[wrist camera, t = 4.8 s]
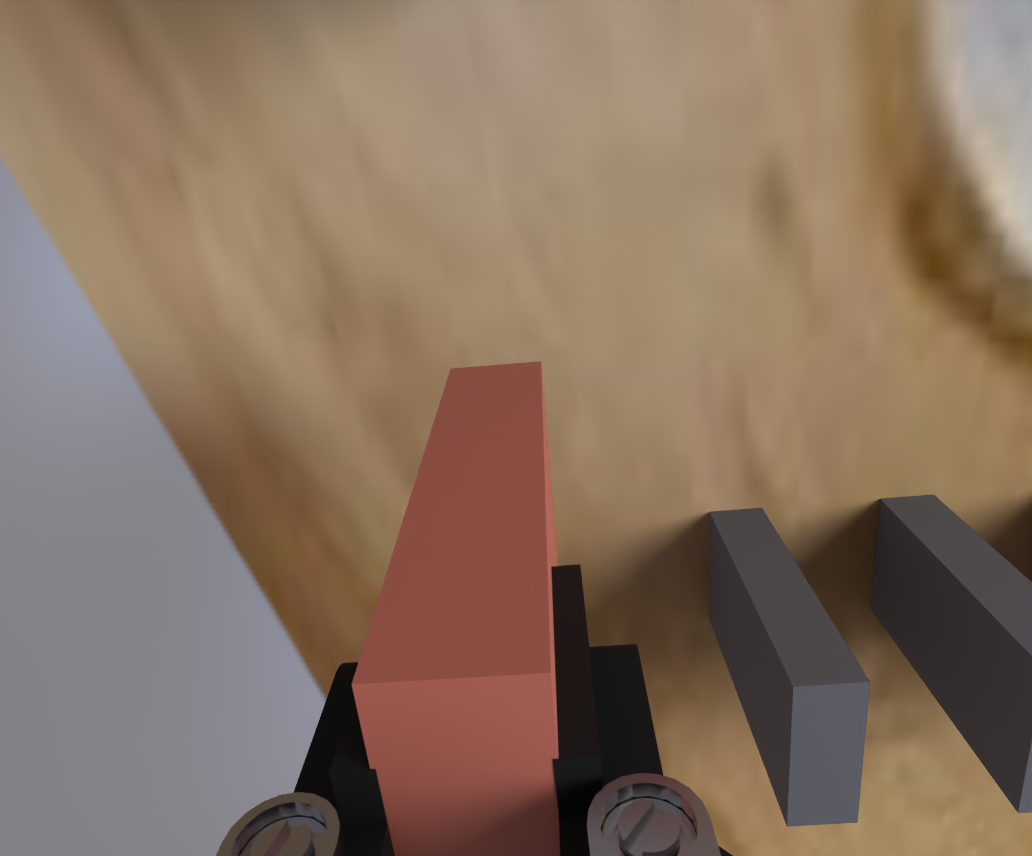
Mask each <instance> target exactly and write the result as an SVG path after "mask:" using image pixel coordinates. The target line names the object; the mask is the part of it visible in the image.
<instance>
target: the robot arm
mask: <svg viewBox="0 0 1032 856" xmlns="http://www.w3.org/2000/svg"><path fill="white" fill-rule="evenodd" d="M551 573H552V599H553V625H554V651H555V677H556V703H557V729H558V755H559V759H553V765H554V775H555V785H556V795H557V805H558V815H559V840H560V856H733V855H731V854H730V853H728V852H727V851H725V850H724V849H722V848H721V847H719V846H718V843H717V840H716V836H715V833H714V829H713V826H712V823H711V819H710V816H709V814H708V812H707V810H706V808H705V806H704V804H703V802H702V800H701V799H700V798H699V797H698V796H697V795H696V794H695V793H694V792H693V791H692V790H691V789H690V788H689V787H687V786H685V785H684V784H682V783H680V782H678V781H677V780H675V779H673V778H669V777H666V776H663V772H662V767H661V762H660V757H659V752H658V747H657V742H656V737H655V732H654V727H653V722H652V717H651V712H650V707H649V702H648V697H647V692H646V687H645V682H644V677H643V672H642V667H641V662H640V657H639V652H638V648H637V645H636V644H630V645H614V646H599V647H589V642H588V632H587V623H586V614H585V605H584V595H583V586H582V577H581V568H580V564H579V565H565V566H551ZM358 663H359V662H353V663H343V664H341V665H340V666H339V668H338V670H337V672H336V674H335V677H334V680H333V683H332V686H331V689H330V691H329V694H328V697H327V700H326V703H325V705H324V708H323V711H322V714H321V717H320V720H319V722H318V725H317V728H316V731H315V734H314V736H313V739H312V742H311V745H310V748H309V751H308V753H307V756H306V759H305V762H304V765H303V768H302V770H301V773H300V776H299V779H298V782H297V784H296V787H295V790H294V793H289V794H283V795H279V796H276V797H274V798H271V799H269V800H266V801H264V802H262V803H260V804H259V805H257V806H256V807H254V808H253V809H251V810H249V811H248V812H246V813H245V814H244V815H243V816H242V817H241V818H240V819H239V820H238V821H237V822H236V823H235V824H234V825H233V826H232V827H231V829H230V830H229V832H228V834H227V835H226V837H225V838H224V840H223V842H222V843H221V846H220V848H219V850H218V852H217V854H216V856H395V854H394V849H393V845H392V840H391V836H390V831H389V827H388V822H387V818H386V813H385V809H384V804H383V800H382V795H381V791H380V786H379V782H378V777H377V773H376V769H370V766H369V761H368V757H367V752H366V748H365V743H364V739H363V734H362V730H361V725H360V720H359V716H358V711H357V707H356V702H355V698H354V693H353V688H352V682H353V678H354V675H355V672H356V669H357V666H358Z"/></svg>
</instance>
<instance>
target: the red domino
mask: <svg viewBox="0 0 1032 856" xmlns="http://www.w3.org/2000/svg"><path fill="white" fill-rule="evenodd" d="M551 566H557V550H556V538H555V526H554V514H553V501H552V489H551V477H550V465H549V452H548V440H547V428H546V416H545V403H544V391H543V379H542V367H541V362H528V363H516V364H503V365H491V366H478V367H466V368H454V369H450V373H449V376H448V379H447V382H446V385H445V389H444V392H443V395H442V398H441V401H440V404H439V408H438V411H437V414H436V417H435V420H434V424H433V427H432V430H431V433H430V436H429V439H428V443H427V446H426V449H425V452H424V455H423V459H422V462H421V465H420V468H419V471H418V475H417V478H416V481H415V484H414V487H413V490H412V494H411V497H410V500H409V503H408V506H407V510H406V513H405V516H404V519H403V522H402V526H401V529H400V532H399V535H398V538H397V541H396V545H395V548H394V551H393V554H392V557H391V561H390V564H389V567H388V570H387V573H386V577H385V580H384V583H383V586H382V589H381V592H380V596H379V599H378V602H377V605H376V608H375V612H374V615H373V618H372V621H371V624H370V627H369V631H368V634H367V637H366V640H365V643H364V647H363V650H362V653H361V656H360V659H359V663H358V666H357V669H356V672H355V675H354V678H353V682H352V688H353V693H354V698H355V702H356V707H357V711H358V716H359V720H360V725H361V730H362V734H363V739H364V743H365V748H366V752H367V757H368V761H369V766H370V769H376V773H377V777H378V782H379V786H380V791H381V795H382V800H383V804H384V809H385V813H386V818H387V822H388V827H389V831H390V836H391V840H392V845H393V849H394V854H395V856H560V840H559V815H558V805H557V795H556V785H555V775H554V765H553V759H559V755H558V729H557V703H556V677H555V651H554V625H553V599H552V573H551Z"/></svg>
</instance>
